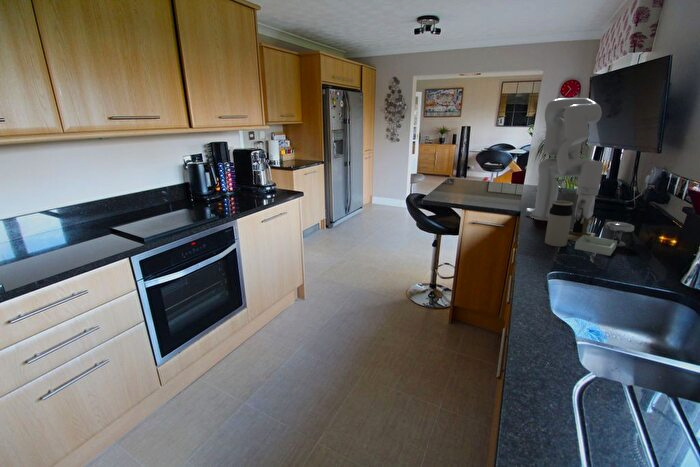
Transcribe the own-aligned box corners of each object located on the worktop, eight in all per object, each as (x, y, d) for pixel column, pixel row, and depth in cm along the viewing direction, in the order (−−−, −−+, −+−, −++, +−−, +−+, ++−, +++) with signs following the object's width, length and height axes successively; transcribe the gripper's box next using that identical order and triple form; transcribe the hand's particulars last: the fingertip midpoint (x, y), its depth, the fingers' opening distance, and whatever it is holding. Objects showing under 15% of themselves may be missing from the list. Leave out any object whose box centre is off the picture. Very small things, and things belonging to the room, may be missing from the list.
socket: (561, 238, 145) (562, 234, 144) (568, 233, 151) (569, 229, 151) (589, 243, 138) (590, 239, 137) (594, 238, 144) (595, 233, 144)
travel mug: (569, 247, 134) (577, 204, 129) (548, 246, 136) (555, 204, 130) (562, 241, 142) (569, 200, 136) (541, 240, 143) (548, 200, 138)
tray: (574, 248, 133) (575, 241, 132) (581, 241, 140) (583, 234, 139) (610, 255, 125) (611, 248, 124) (615, 247, 132) (617, 240, 131)
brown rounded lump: (581, 236, 147) (586, 212, 144) (589, 240, 141) (594, 215, 138) (567, 236, 148) (571, 212, 144) (574, 240, 142) (579, 216, 139)
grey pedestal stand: (600, 244, 136) (604, 224, 134) (604, 239, 142) (608, 220, 140) (627, 249, 130) (632, 228, 128) (631, 243, 136) (636, 223, 134)
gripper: (593, 194, 130) (585, 236, 135) (602, 189, 141) (594, 227, 146) (571, 192, 135) (564, 232, 140) (581, 187, 147) (575, 224, 152)
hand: (580, 229), depth 143 cm, fingers open, 9 cm apart
